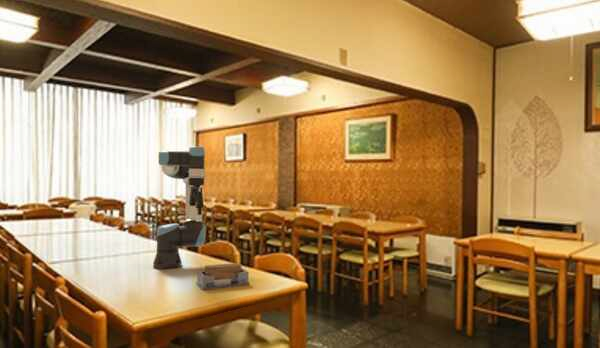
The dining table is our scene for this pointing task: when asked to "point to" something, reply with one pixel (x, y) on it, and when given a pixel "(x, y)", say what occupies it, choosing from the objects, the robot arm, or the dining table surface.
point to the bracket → (211, 283)
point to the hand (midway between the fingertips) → (195, 220)
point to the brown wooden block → (223, 270)
